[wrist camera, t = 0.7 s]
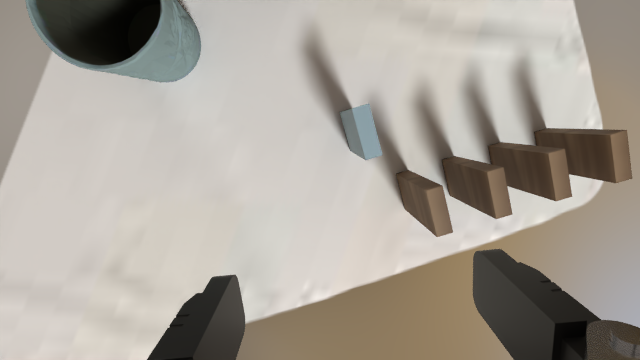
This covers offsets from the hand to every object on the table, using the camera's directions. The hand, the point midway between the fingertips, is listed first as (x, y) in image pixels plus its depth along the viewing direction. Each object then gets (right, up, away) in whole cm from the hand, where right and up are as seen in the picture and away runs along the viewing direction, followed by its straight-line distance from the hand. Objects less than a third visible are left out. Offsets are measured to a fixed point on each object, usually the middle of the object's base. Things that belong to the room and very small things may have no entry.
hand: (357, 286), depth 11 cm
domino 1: (+3, +10, +28) cm, 29 cm away
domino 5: (+27, +8, +29) cm, 40 cm away
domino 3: (+15, +4, +29) cm, 33 cm away
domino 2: (+10, +2, +29) cm, 31 cm away
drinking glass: (-19, +19, +25) cm, 37 cm away
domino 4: (+21, +6, +29) cm, 37 cm away
